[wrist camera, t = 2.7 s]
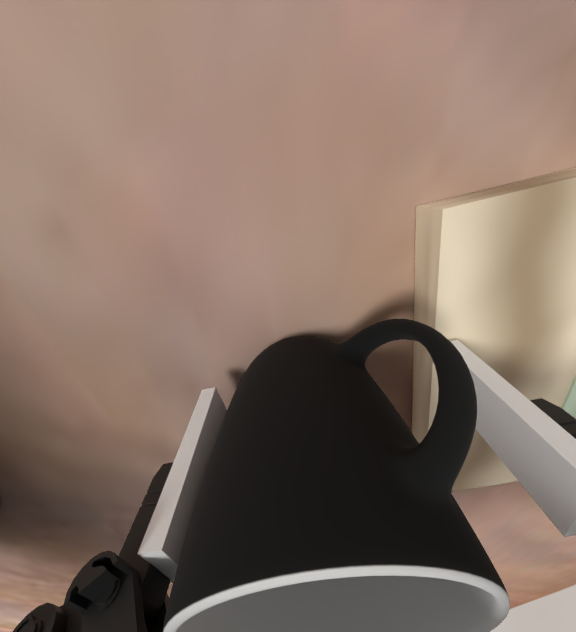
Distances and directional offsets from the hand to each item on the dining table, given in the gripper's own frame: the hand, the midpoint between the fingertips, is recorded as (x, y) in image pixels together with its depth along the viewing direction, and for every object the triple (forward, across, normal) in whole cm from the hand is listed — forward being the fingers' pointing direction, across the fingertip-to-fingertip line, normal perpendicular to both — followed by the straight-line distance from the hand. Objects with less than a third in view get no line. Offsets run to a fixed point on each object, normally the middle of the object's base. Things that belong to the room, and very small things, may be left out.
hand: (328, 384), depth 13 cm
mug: (+2, 0, 0) cm, 2 cm away
